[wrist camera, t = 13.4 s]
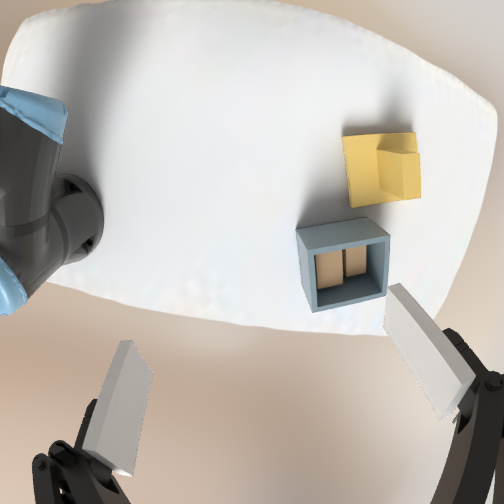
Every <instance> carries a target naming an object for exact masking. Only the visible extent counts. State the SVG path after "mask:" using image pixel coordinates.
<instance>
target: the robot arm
mask: <svg viewBox="0 0 504 504" xmlns="http://www.w3.org/2000/svg"><path fill="white" fill-rule="evenodd" d="M67 117H68V110H67V107H66V105H65V104H64V103H63V102H62V101H60V100H57V99H54V98H50V97H47V96H43V95H39V94H35V93H32V92H27V91H23V90H19V89H14V88H10V87H5V86H1V85H0V315H6V316H7V315H10V314H12V313H14V312H15V311H16V310H17V309H18V308H19V307H20V306H21V305H23V304H25V303H26V302H27V300H28V299H29V298H30V297H31V296H32V295H33V293H34V292H35V291H36V290H37V289H38V288H39V287H40V286H41V285H42V284H43V283H44V282H45V281H46V280H47V279H48V278H49V277H50V276H51V275H52V274H53V273H54V272H55V271H56V270H57V269H58V268H59V267H61V266H62V265H66V264H70V263H73V262H77V261H80V260H82V259H84V258H85V257H87V256H88V255H89V254H90V253H91V252H92V251H93V250H94V249H95V248H96V247H97V245H98V244H99V242H100V239H101V237H102V233H103V213H102V208H101V205H100V202H99V200H98V197H97V196H96V194H95V192H94V191H93V189H92V188H91V187H90V186H89V185H88V184H87V183H86V182H85V181H84V180H83V179H81V178H79V177H77V176H74V175H70V174H63V175H59V176H56V177H55V173H56V168H57V163H58V158H59V153H60V149H61V145H63V134H64V130H65V126H66V121H67ZM383 328H384V329H385V331H386V332H387V334H388V335H389V337H390V338H391V340H392V342H393V343H394V345H395V346H396V348H397V349H398V351H399V353H400V354H401V356H402V358H403V359H404V361H405V362H406V364H407V366H408V367H409V369H410V371H411V372H412V374H413V376H414V377H415V379H416V381H417V382H418V384H419V386H420V388H421V389H422V391H423V393H424V394H425V396H426V398H427V400H428V402H429V404H430V405H431V407H432V409H433V411H434V412H435V414H436V416H437V418H438V420H439V421H440V420H442V419H443V418H445V417H447V416H449V415H450V414H452V413H453V412H454V410H455V409H456V407H457V406H458V408H459V410H460V411H459V413H458V414H457V416H456V417H455V418H454V420H453V422H452V423H455V422H456V421H457V423H456V428H455V432H454V436H453V440H452V444H451V448H450V451H449V454H448V457H447V461H446V464H445V467H444V470H443V473H442V476H441V479H440V481H439V484H438V486H437V489H436V491H435V494H434V496H433V499H432V501H431V503H430V504H485V502H486V499H487V495H488V492H489V489H490V486H491V482H492V478H493V475H494V470H495V485H494V495H493V504H504V374H502V375H501V374H499V373H498V372H495V371H488V370H487V369H486V368H485V366H484V365H483V364H482V362H481V361H480V360H479V358H478V357H477V356H476V355H475V353H474V352H473V351H472V350H471V349H470V348H469V346H468V345H467V343H466V342H464V340H463V339H462V337H461V336H460V335H459V334H458V333H457V332H455V331H454V330H452V329H450V328H447V329H445V330H443V331H441V329H440V328H439V327H438V326H437V325H436V324H435V322H434V321H433V320H432V319H431V317H430V316H429V315H428V314H427V313H426V312H425V310H424V309H423V308H422V307H421V306H420V305H419V304H418V302H417V301H416V300H415V299H414V298H413V297H412V296H411V295H410V294H409V292H408V291H407V290H406V289H405V288H404V287H403V286H402V285H401V284H400V283H398V284H395V285H391V286H388V287H387V296H386V307H385V316H384V324H383ZM153 375H154V373H153V372H152V370H151V369H150V367H149V366H148V364H147V363H146V361H145V360H144V358H143V356H142V355H141V353H140V352H139V351H138V348H137V347H136V345H135V344H134V342H133V340H125V341H120V343H119V346H118V348H117V350H116V353H115V355H114V358H113V360H112V363H111V365H110V368H109V370H108V373H107V375H106V378H105V381H104V383H103V386H102V389H101V392H100V394H99V397H98V399H93V400H92V401H91V403H90V404H89V405H88V407H87V409H86V412H85V417H84V418H83V421H82V424H81V427H80V430H79V433H78V436H77V439H76V442H75V446H74V448H72V447H71V446H70V445H69V444H67V443H66V442H64V441H62V440H58V441H55V442H54V443H53V444H52V445H51V447H50V448H49V452H48V456H46V455H45V454H43V453H40V454H38V455H36V456H35V457H34V459H33V462H32V473H33V485H34V494H35V501H36V504H131V503H130V502H129V500H128V498H127V497H126V496H125V494H124V492H123V491H122V489H121V487H120V486H119V484H118V482H117V481H116V479H115V477H114V476H113V475H112V474H111V473H112V470H113V471H115V472H117V473H118V474H120V475H126V476H133V475H134V469H135V462H136V457H137V451H138V445H139V440H140V435H141V430H142V425H143V420H144V415H145V410H146V406H147V401H148V396H149V392H150V388H151V384H152V379H153ZM59 488H60V489H62V494H61V493H60V489H59Z"/></svg>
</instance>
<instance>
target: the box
mask: <svg viewBox="0 0 504 504" xmlns="http://www.w3.org/2000/svg"><path fill="white" fill-rule="evenodd" d="M296 237H297V245H298V254H299V263H300V272H301V282H302V286H303V289H304V292H305V294H306V297H307V300H308V302H309V305H310V308H311V310H312V313H314V312H319V311H323V310H328V309H333V308H337V307H342V306H346V305H350V304H355V303H359V302H363V301H367V300H371V299H375V298H379V297H383V296H386V294H387V284H388V271H389V255H390V234H388V233H387V232H386V231H385V230H383V229H382V228H381V227H379V226H378V225H377V224H375V223H374V222H373V221H371V220H370V219H369V218H367V217H365V218H359V219H352V220H346V221H340V222H334V223H328V224H322V225H317V226H311V227H305V228H299V229H296Z"/></svg>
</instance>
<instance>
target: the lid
mask: <svg viewBox="0 0 504 504" xmlns="http://www.w3.org/2000/svg"><path fill="white" fill-rule="evenodd" d="M342 141H343V148H344V155H345V163H346V171H347V180H348V190H349V200H350V206H351V207H352V208H356V207H362V206H368V205H374V204H380V203H386V202H392V201H398V200H410V199H416V198H421V175H420V157H419V153H417V142H416V133H414V132H404V133H380V134H365V135H353V136H342Z"/></svg>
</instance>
